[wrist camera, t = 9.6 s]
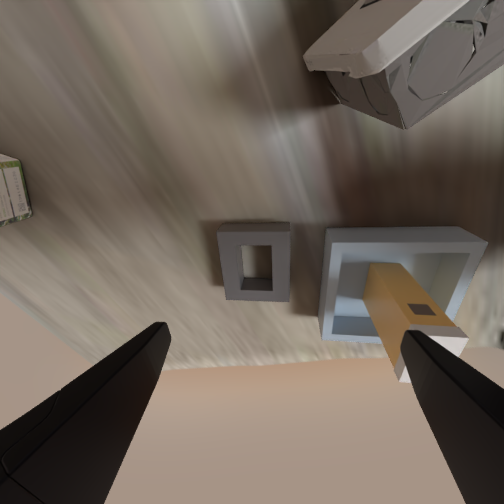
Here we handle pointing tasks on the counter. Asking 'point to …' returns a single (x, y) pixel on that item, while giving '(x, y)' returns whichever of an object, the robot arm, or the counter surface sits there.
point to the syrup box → (12, 192)
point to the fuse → (406, 313)
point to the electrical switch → (409, 54)
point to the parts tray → (391, 251)
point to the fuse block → (232, 263)
